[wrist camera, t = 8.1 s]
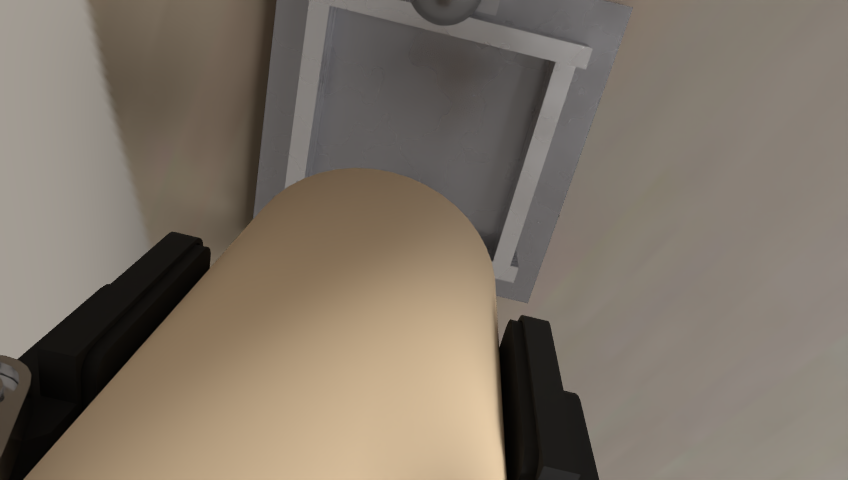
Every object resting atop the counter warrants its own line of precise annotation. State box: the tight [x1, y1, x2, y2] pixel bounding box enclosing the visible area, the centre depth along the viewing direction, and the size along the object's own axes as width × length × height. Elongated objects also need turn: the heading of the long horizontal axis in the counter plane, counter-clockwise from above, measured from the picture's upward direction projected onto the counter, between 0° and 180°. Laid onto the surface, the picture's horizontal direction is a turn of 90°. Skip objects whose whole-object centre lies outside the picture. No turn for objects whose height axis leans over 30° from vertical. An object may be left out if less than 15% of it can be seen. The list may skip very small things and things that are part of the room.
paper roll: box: [23, 168, 507, 480], centre depth 9 cm, size 6×6×10 cm
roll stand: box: [253, 0, 633, 303], centre depth 22 cm, size 14×15×10 cm
